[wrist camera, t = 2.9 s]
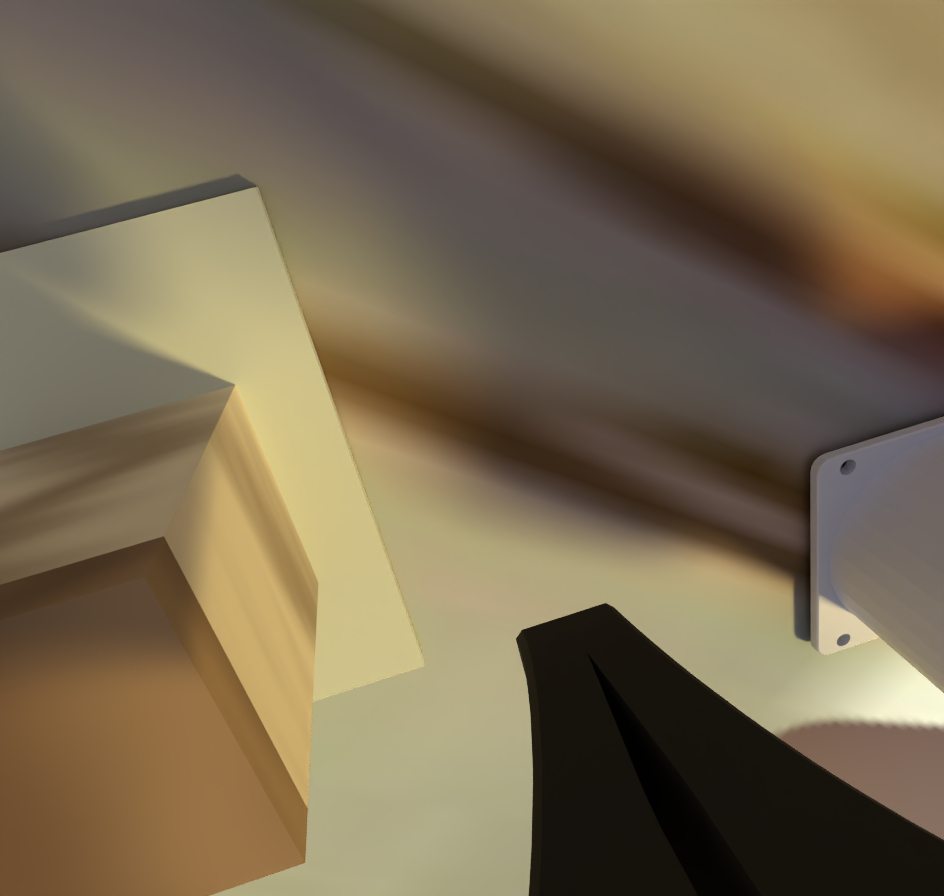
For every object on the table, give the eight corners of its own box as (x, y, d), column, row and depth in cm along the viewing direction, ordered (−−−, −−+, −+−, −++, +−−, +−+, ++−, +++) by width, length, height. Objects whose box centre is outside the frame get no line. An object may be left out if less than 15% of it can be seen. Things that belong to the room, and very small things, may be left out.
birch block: (235, 384, 15) (144, 577, 8) (318, 582, 18) (304, 862, 11) (-20, 456, 15) (-356, 727, 8) (102, 649, 17) (-64, 988, 10)
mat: (257, 186, 14) (256, 187, 14) (423, 657, 20) (425, 665, 20) (-633, 416, 13) (-661, 424, 12) (-172, 847, 19) (-182, 860, 18)
